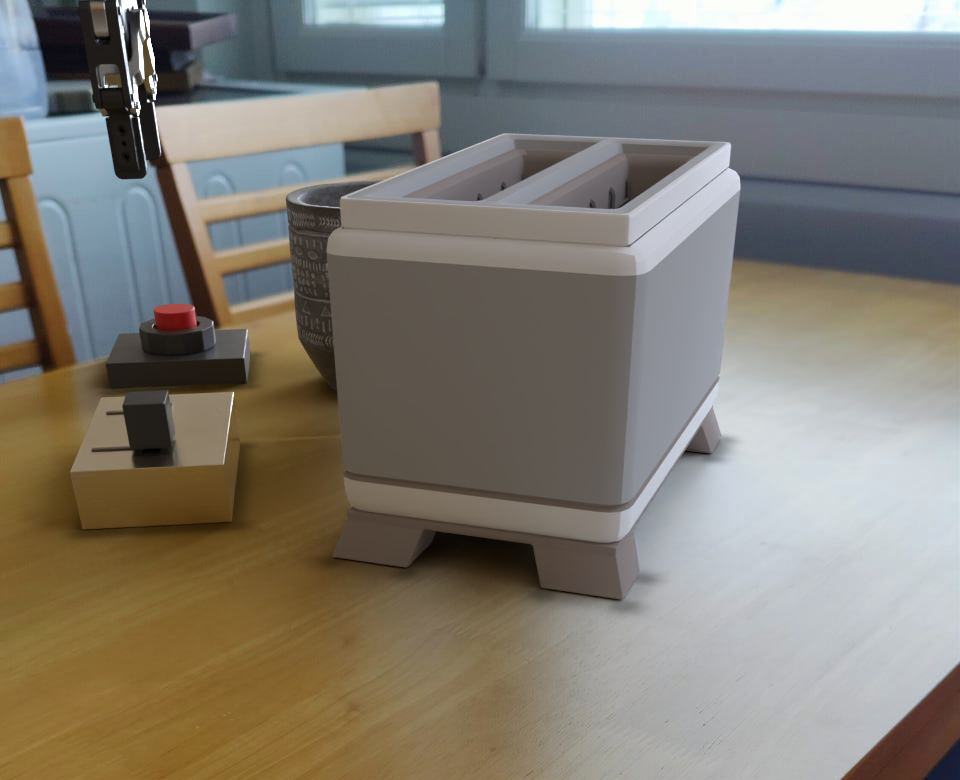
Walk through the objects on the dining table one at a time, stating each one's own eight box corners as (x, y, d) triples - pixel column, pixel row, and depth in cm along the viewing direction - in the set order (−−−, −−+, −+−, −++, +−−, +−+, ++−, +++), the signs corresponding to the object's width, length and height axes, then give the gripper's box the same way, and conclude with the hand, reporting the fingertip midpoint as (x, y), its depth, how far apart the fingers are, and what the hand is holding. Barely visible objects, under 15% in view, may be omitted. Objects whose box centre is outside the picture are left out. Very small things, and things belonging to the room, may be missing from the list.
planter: (432, 352, 115) (427, 175, 106) (483, 394, 105) (482, 201, 96) (286, 368, 112) (268, 185, 103) (324, 413, 101) (307, 214, 92)
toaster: (729, 425, 98) (763, 134, 86) (623, 600, 72) (649, 222, 60) (504, 401, 103) (506, 124, 91) (332, 557, 78) (301, 201, 65)
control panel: (82, 529, 82) (69, 470, 79) (111, 449, 94) (100, 396, 92) (231, 522, 83) (223, 462, 80) (240, 443, 95) (233, 390, 93)
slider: (130, 450, 82) (121, 405, 80) (134, 435, 84) (126, 391, 82) (171, 448, 82) (164, 403, 80) (175, 433, 85) (168, 389, 83)
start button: (154, 335, 108) (151, 314, 106) (158, 324, 110) (155, 304, 109) (195, 333, 108) (192, 312, 107) (198, 323, 111) (195, 302, 110)
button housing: (110, 389, 107) (101, 342, 104) (123, 358, 115) (115, 313, 112) (247, 383, 108) (241, 336, 105) (250, 352, 116) (245, 308, 113)
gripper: (55, -111, 84) (102, 155, 94) (12, -116, 73) (71, 186, 83) (164, -112, 85) (200, 153, 95) (138, -118, 74) (181, 183, 83)
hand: (139, 168), depth 89 cm, fingers open, 8 cm apart
